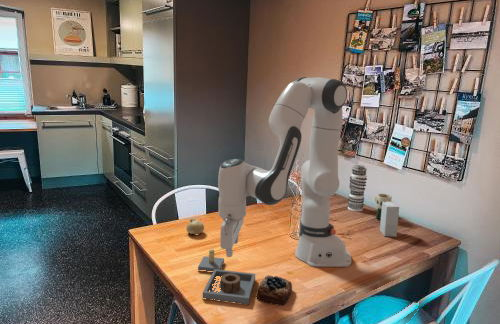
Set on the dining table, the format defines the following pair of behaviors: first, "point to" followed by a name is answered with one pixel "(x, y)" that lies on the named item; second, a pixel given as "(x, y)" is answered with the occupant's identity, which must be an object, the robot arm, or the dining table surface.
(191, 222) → the onion
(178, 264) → the dining table surface
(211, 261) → the grey peg stand
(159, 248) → the dining table surface
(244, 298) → the tray
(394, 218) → the skincare box
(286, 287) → the pastry
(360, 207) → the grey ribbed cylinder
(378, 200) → the character mug
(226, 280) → the ring
